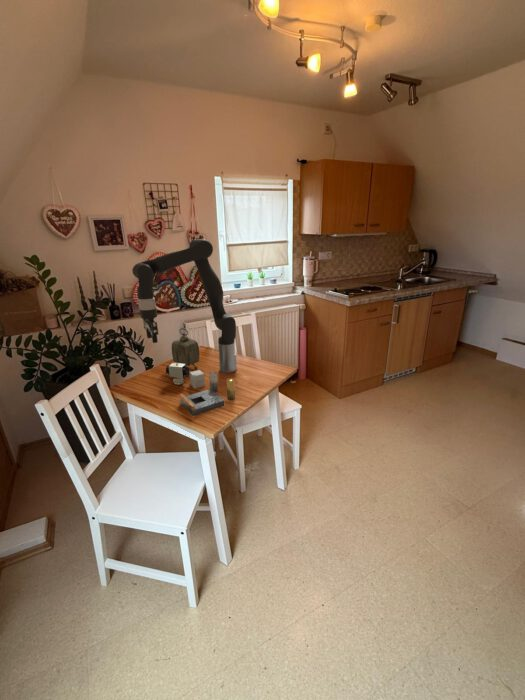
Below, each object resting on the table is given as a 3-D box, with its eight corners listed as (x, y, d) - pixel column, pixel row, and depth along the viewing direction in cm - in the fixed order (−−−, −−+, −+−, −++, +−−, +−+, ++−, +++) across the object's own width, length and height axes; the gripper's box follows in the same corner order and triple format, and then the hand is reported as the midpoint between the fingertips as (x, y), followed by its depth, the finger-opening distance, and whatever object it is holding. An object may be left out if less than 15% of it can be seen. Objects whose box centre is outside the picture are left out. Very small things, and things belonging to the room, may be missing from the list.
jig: (210, 394, 162) (210, 385, 161) (224, 405, 152) (224, 396, 150) (180, 403, 154) (179, 394, 152) (193, 416, 143) (192, 406, 141)
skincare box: (200, 381, 176) (199, 369, 173) (205, 386, 171) (204, 373, 168) (190, 384, 173) (189, 372, 170) (194, 388, 168) (193, 376, 165)
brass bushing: (232, 395, 161) (231, 377, 157) (236, 399, 158) (236, 380, 154) (225, 398, 159) (224, 379, 155) (229, 401, 156) (228, 382, 152)
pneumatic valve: (187, 386, 170) (185, 365, 166) (167, 384, 172) (164, 363, 168) (191, 381, 175) (189, 361, 171) (171, 380, 178) (169, 359, 173)
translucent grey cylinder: (215, 388, 168) (214, 371, 165) (219, 391, 165) (218, 373, 162) (208, 390, 166) (207, 373, 162) (212, 393, 163) (211, 375, 159)
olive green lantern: (200, 369, 192) (197, 328, 183) (189, 374, 185) (185, 332, 176) (184, 363, 199) (180, 324, 191) (172, 368, 193) (168, 328, 184)
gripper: (160, 309, 147) (165, 342, 153) (151, 303, 158) (155, 335, 164) (144, 311, 143) (149, 345, 149) (135, 305, 154) (140, 337, 160)
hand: (152, 340), depth 156 cm, fingers open, 8 cm apart
